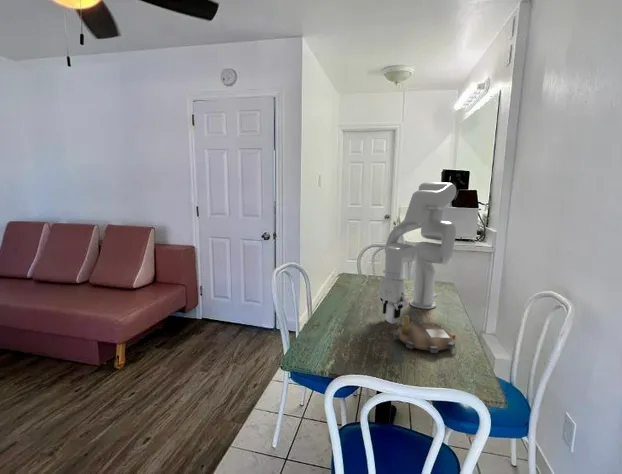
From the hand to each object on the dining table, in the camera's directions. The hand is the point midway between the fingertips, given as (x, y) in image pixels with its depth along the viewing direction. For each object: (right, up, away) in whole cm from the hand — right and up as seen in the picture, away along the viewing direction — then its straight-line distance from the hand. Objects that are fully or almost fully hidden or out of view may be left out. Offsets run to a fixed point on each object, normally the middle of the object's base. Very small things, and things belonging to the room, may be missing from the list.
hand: (391, 314), depth 153 cm
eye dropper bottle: (0, -3, +1) cm, 3 cm away
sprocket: (+8, -5, -18) cm, 21 cm away
